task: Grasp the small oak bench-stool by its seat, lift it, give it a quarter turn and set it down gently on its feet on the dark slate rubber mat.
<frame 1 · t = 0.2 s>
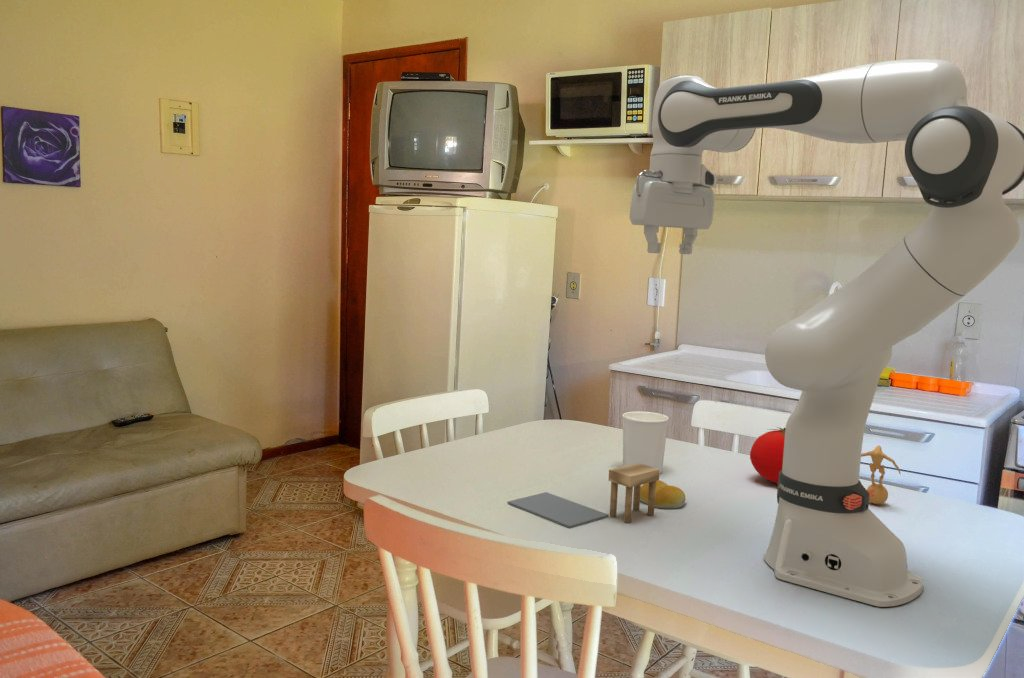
hand: (670, 253, 144), 47 cm above the table, fingers open, 8 cm apart
figurine: (874, 506, 159), on the table
stool: (631, 515, 148), on the table
mat: (557, 510, 149), on the table
candle holder: (642, 471, 177), on the table
bread roll: (660, 503, 156), on the table
tomato: (782, 483, 172), on the table
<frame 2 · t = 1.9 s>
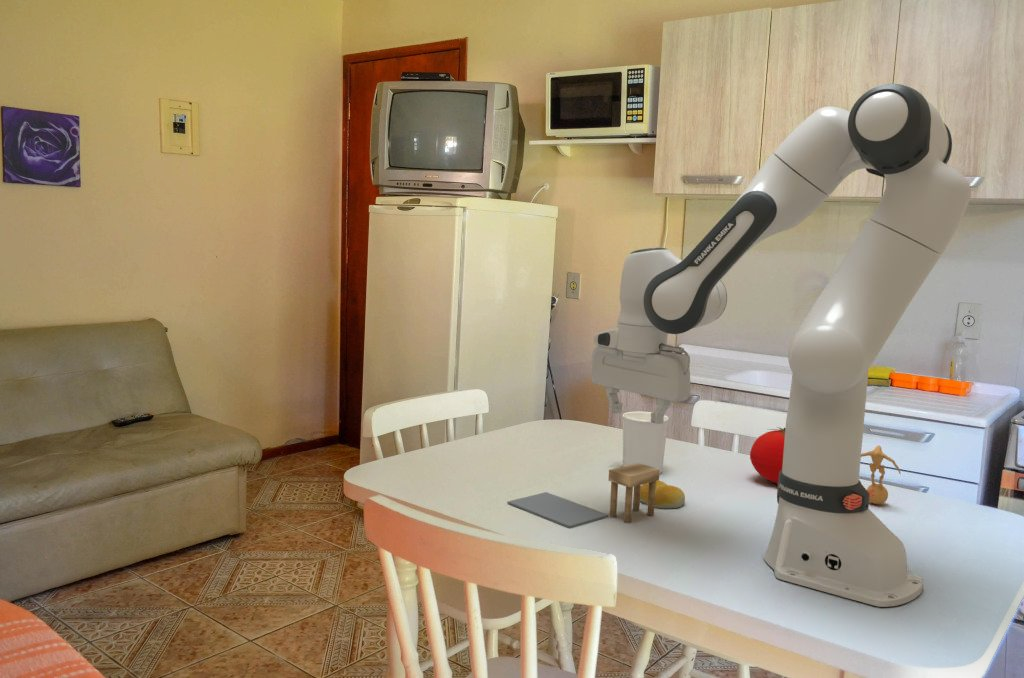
hand: (635, 417, 146), 18 cm above the table, fingers open, 8 cm apart
nothing on the table moved.
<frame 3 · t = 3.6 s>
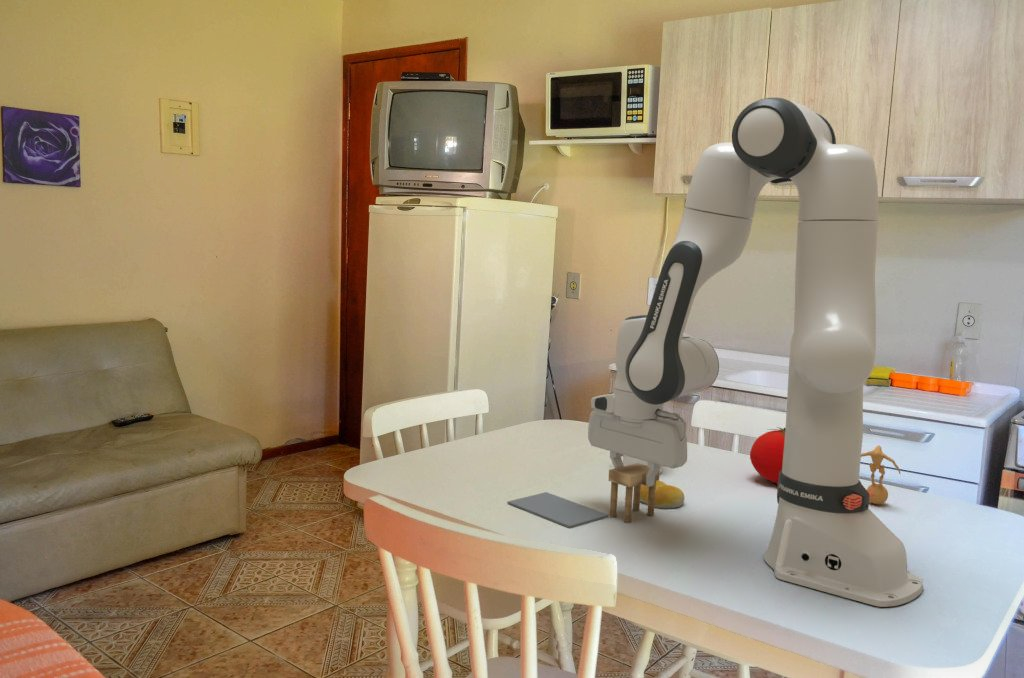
hand: (633, 480, 147), 6 cm above the table, fingers closed on stool, 5 cm apart
stool: (631, 515, 148), on the table, touching gripper
everything else where it was.
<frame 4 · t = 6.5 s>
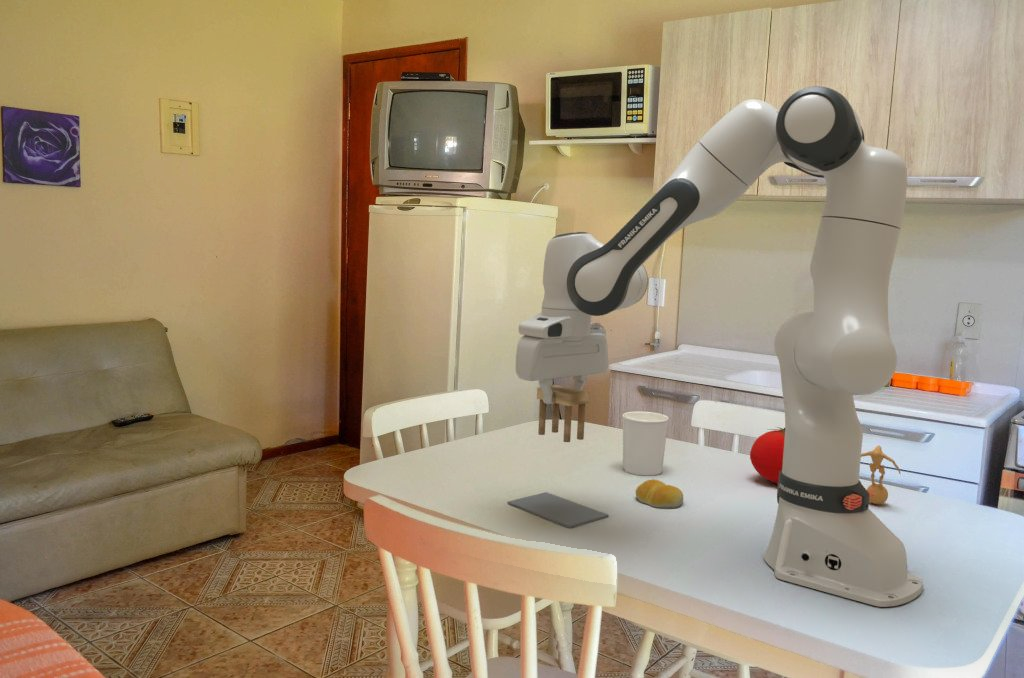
hand: (562, 401, 147), 20 cm above the table, fingers closed on stool, 5 cm apart
stool: (560, 436, 147), point 14 cm above the table, touching gripper
everything else where it was.
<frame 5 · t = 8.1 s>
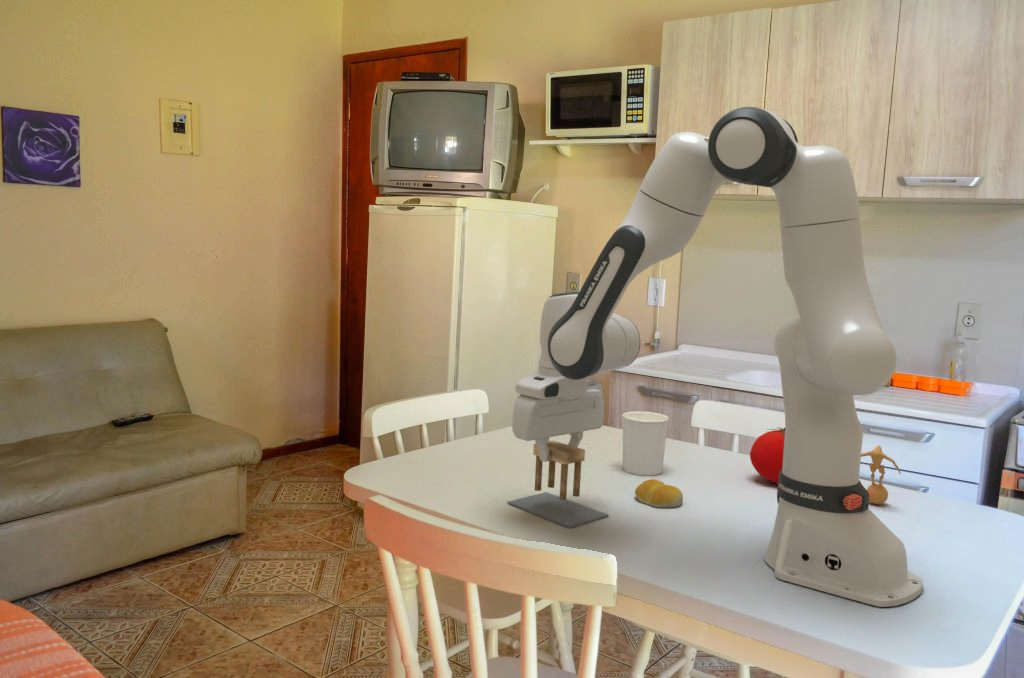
hand: (558, 458, 148), 10 cm above the table, fingers closed on stool, 5 cm apart
stool: (556, 492, 148), point 3 cm above the table, touching gripper
everything else where it was.
when the fingers open (8 cm above the table, at t = 9.4 s): stool stays where it is, resting on mat.
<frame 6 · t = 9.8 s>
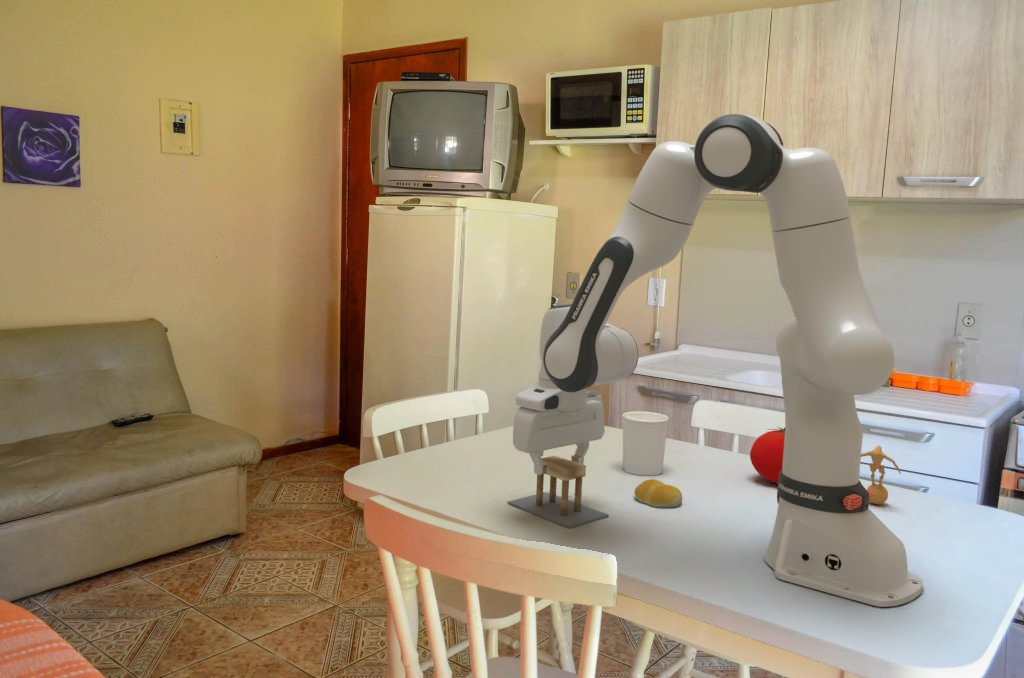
hand: (559, 469, 148), 8 cm above the table, fingers open, 8 cm apart
stool: (558, 508, 149), resting on mat
everything else where it was.
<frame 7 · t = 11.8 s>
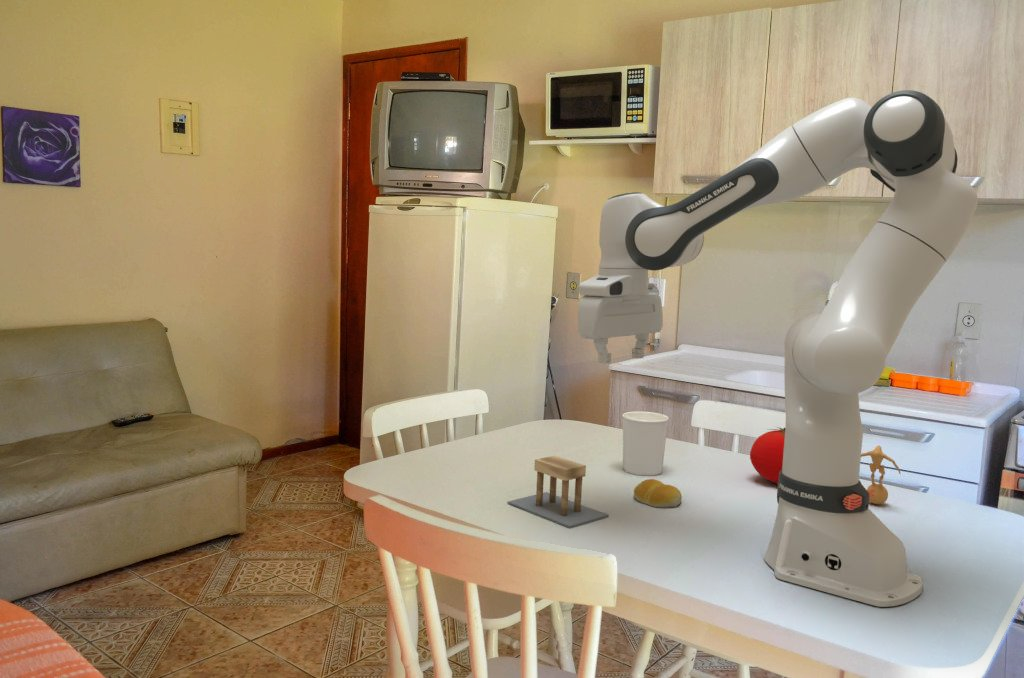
hand: (621, 360, 149), 27 cm above the table, fingers open, 8 cm apart
nothing on the table moved.
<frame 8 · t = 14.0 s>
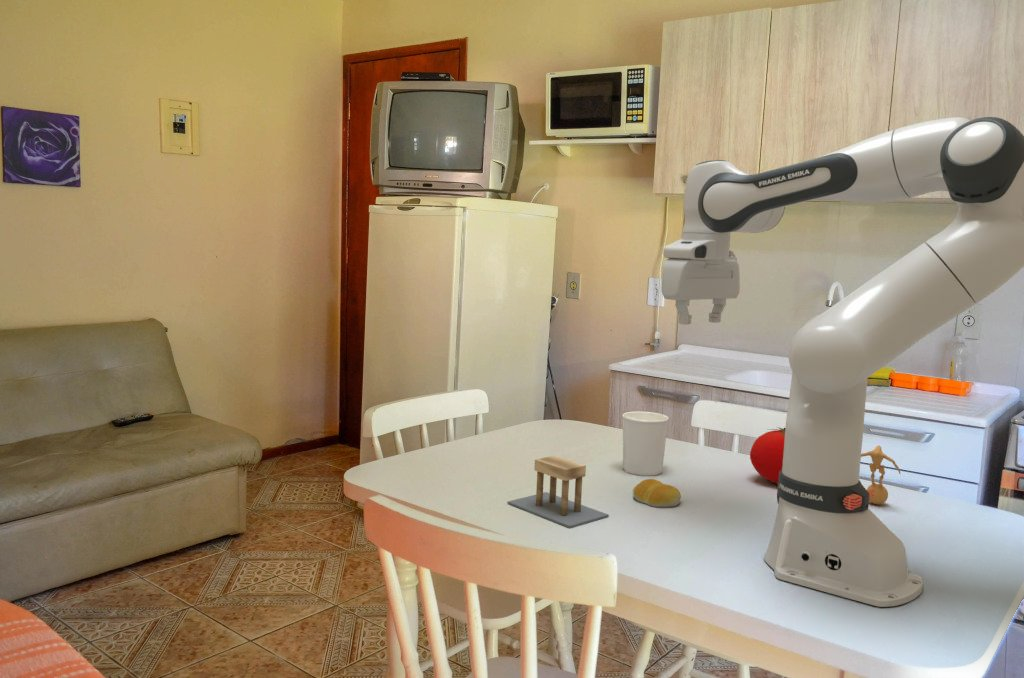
hand: (699, 323, 155), 34 cm above the table, fingers open, 8 cm apart
nothing on the table moved.
at the end: stool inside the target area on the mat (0.2 cm from its centre), point 0.4 cm above the mat's base; stool tilted 0°; the gripper is holding nothing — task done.
